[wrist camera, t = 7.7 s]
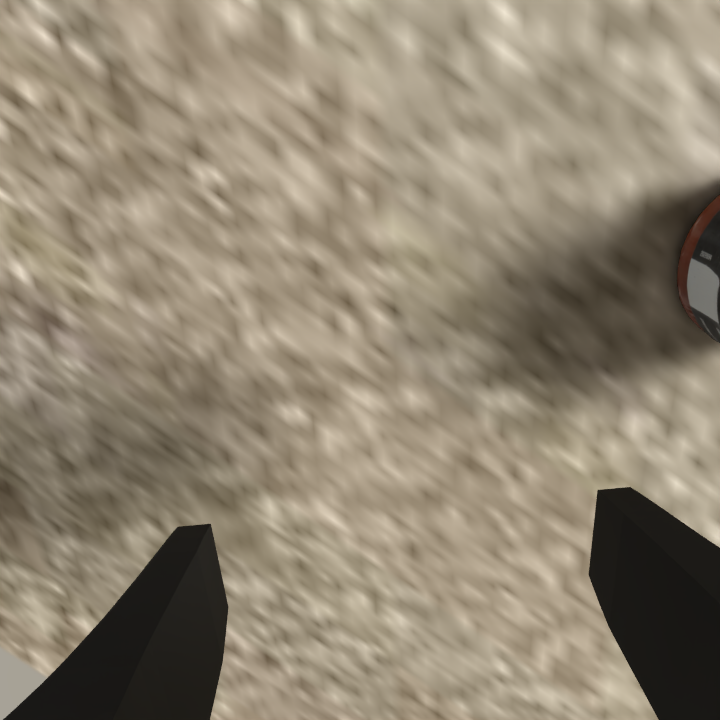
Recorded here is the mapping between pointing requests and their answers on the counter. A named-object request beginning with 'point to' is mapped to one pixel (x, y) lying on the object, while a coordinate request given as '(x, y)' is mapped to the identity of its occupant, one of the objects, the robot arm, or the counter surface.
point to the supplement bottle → (702, 271)
